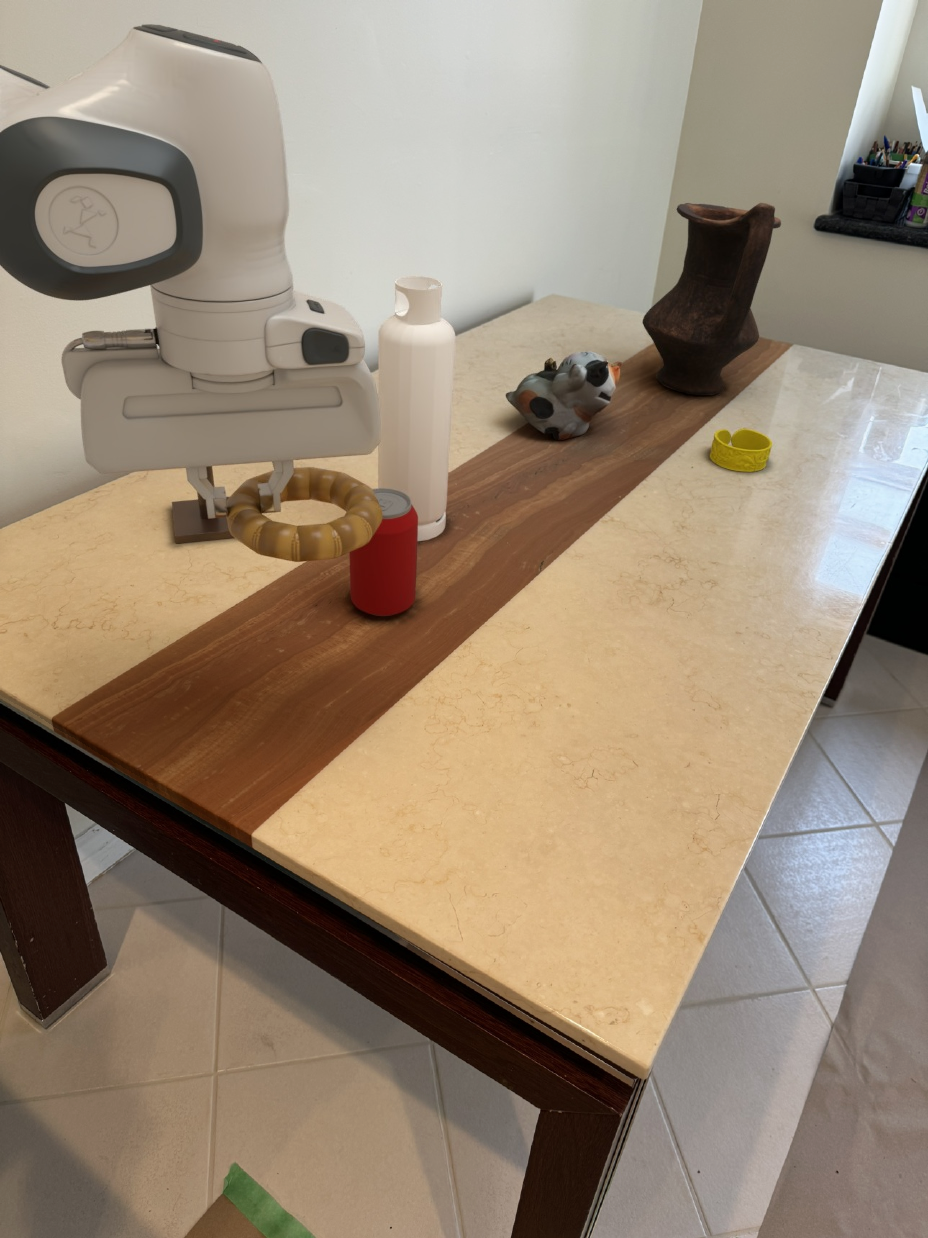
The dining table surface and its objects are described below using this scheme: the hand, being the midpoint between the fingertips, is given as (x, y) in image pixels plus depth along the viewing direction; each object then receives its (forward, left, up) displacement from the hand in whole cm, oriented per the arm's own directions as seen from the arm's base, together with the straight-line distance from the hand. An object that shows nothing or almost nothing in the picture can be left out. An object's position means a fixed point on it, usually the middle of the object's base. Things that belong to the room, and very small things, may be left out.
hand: (244, 511), depth 65 cm
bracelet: (+71, +36, -20) cm, 82 cm away
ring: (+5, 0, -1) cm, 5 cm away
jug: (+78, +62, -20) cm, 102 cm away
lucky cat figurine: (+50, +52, -20) cm, 75 cm away
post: (-2, +33, -20) cm, 39 cm away
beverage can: (+14, +13, -20) cm, 28 cm away
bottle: (+21, +28, -20) cm, 41 cm away
